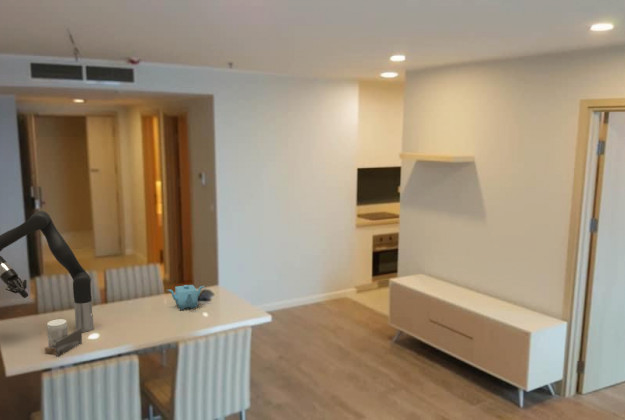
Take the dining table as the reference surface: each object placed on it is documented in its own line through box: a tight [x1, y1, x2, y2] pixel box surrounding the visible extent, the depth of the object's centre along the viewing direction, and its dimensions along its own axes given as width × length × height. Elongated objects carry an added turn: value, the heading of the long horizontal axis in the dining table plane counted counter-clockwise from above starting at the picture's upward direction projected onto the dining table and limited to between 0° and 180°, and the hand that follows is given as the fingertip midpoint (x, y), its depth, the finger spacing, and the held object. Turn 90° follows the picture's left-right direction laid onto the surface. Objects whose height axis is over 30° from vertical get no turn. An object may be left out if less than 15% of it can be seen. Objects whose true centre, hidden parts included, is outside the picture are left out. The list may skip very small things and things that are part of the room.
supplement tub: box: [46, 318, 69, 348], centre depth 274 cm, size 10×10×15 cm
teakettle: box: [166, 284, 205, 311], centre depth 342 cm, size 19×19×15 cm
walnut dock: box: [44, 329, 83, 358], centre depth 274 cm, size 9×18×8 cm, turn 166°
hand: (26, 296), depth 278 cm, fingers closed
